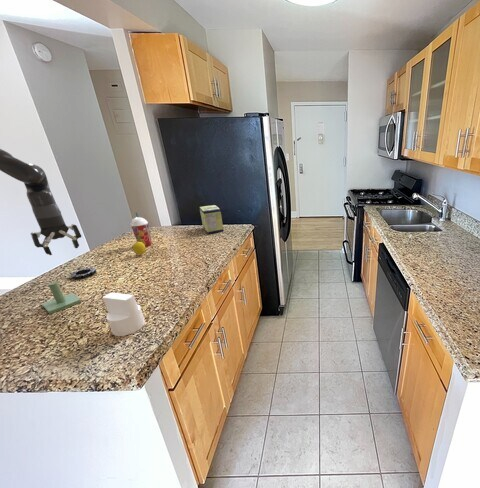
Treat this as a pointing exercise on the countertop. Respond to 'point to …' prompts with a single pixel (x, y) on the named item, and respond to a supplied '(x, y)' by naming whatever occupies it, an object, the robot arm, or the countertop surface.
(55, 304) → the post
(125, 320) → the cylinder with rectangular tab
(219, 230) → the protein box
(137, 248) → the lemon
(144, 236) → the smoothie
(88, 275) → the ring
